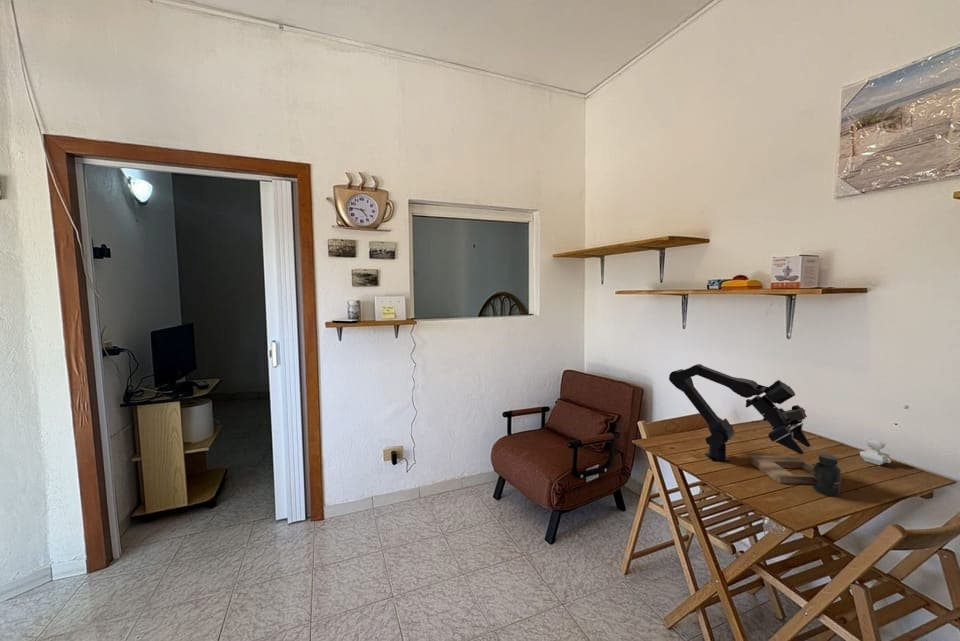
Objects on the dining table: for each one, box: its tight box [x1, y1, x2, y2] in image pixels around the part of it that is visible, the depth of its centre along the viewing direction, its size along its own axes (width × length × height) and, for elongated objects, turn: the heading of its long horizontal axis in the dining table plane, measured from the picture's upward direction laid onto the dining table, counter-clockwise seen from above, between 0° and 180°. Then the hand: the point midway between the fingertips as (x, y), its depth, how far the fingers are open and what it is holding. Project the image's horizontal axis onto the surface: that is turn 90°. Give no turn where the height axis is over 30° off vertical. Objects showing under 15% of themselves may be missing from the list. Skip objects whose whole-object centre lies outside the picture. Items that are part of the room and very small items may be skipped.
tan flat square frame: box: [747, 454, 814, 485], centre depth 145 cm, size 17×18×2 cm
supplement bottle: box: [812, 453, 842, 497], centre depth 131 cm, size 7×7×12 cm
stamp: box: [859, 439, 892, 466], centre depth 152 cm, size 9×7×8 cm
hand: (806, 450), depth 135 cm, fingers open, 9 cm apart
